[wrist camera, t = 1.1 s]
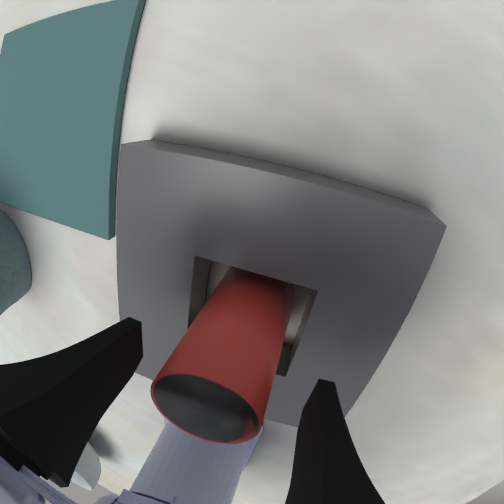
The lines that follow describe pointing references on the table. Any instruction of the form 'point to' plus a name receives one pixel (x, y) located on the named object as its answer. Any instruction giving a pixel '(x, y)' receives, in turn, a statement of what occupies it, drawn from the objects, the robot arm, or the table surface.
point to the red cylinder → (227, 360)
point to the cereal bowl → (87, 469)
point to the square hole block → (269, 259)
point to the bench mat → (66, 113)
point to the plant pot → (12, 264)
